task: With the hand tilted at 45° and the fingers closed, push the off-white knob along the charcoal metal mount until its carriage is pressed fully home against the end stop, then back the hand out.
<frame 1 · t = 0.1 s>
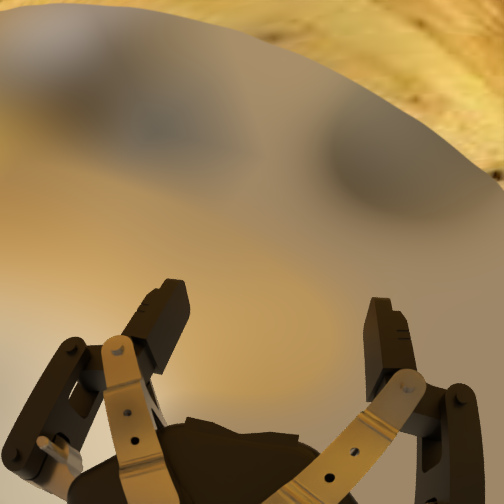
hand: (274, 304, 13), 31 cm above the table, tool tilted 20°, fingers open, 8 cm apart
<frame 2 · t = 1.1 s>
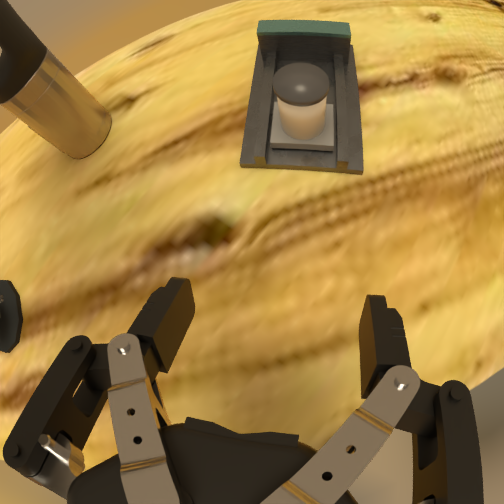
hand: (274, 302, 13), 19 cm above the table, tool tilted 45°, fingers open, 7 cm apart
knob mount: (304, 97, 36), on the table
knob carriage: (302, 106, 30), point 5 cm above the table, slide at 0.0 cm
gun turret: (12, 312, 38), on the table
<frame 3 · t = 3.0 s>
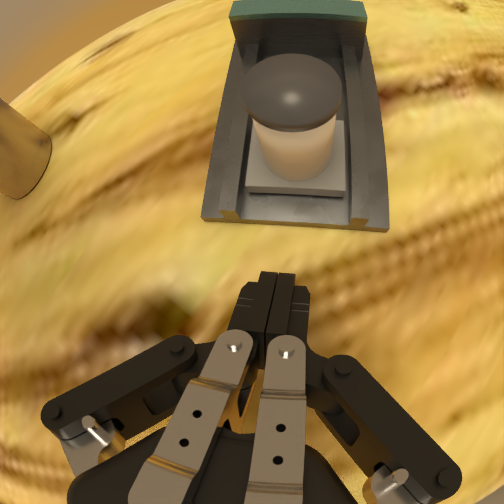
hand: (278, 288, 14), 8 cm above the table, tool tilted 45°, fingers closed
knob mount: (300, 108, 25), on the table
knob carriage: (295, 127, 18), point 5 cm above the table, slide at 0.0 cm
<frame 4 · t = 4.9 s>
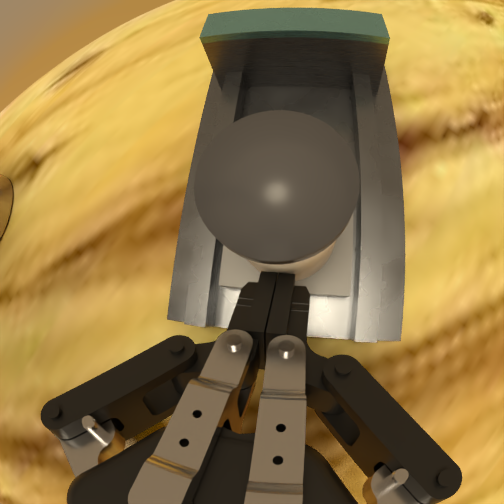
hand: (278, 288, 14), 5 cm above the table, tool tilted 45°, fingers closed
knob mount: (296, 163, 20), on the table
knob carriage: (284, 217, 14), point 5 cm above the table, slide at 0.3 cm, touching gripper
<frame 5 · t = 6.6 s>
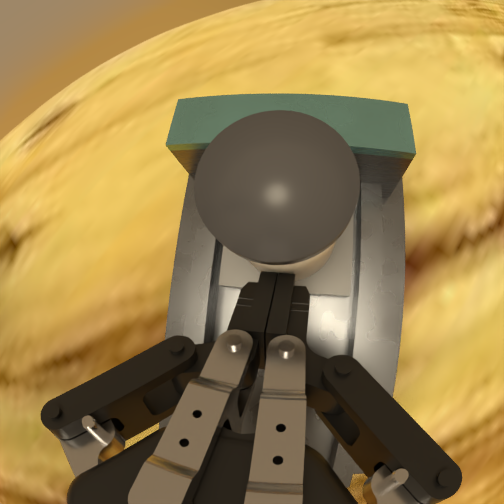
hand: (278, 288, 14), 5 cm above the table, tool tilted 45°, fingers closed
knob mount: (286, 295, 18), on the table
knob carriage: (284, 217, 14), point 6 cm above the table, slide at 9.1 cm, touching gripper
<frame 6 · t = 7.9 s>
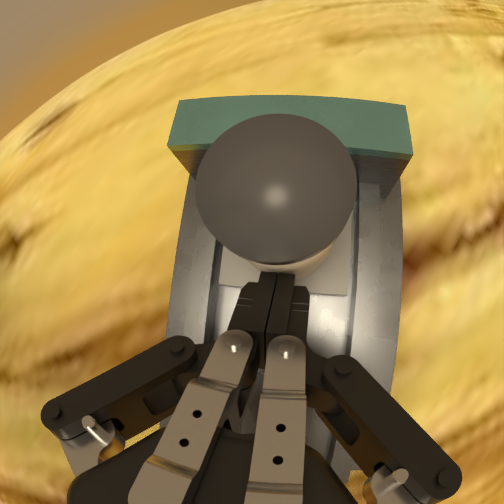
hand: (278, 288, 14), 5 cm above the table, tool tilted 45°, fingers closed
knob mount: (285, 293, 19), on the table
knob carriage: (283, 218, 14), point 6 cm above the table, slide at 9.0 cm
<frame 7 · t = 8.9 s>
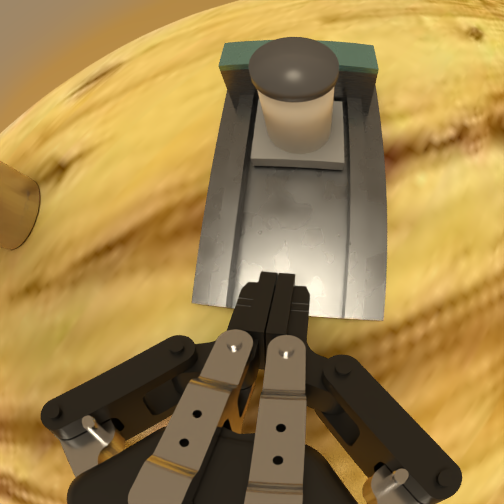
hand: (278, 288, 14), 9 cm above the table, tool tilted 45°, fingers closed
knob mount: (298, 174, 24), on the table
knob carriage: (297, 103, 20), point 6 cm above the table, slide at 9.0 cm
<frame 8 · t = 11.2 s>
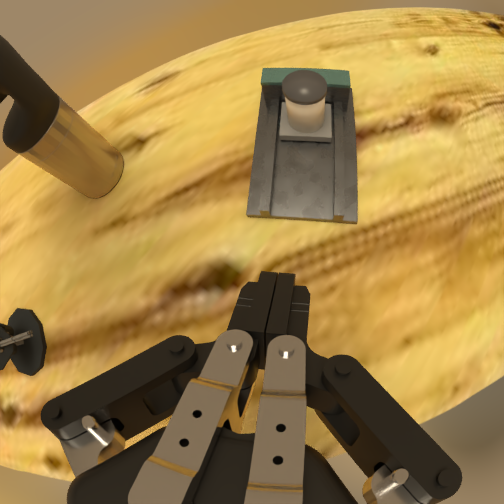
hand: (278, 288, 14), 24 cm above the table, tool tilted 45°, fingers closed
knob mount: (305, 145, 41), on the table
knob carriage: (305, 105, 36), point 5 cm above the table, slide at 9.0 cm
gun turret: (35, 338, 43), on the table
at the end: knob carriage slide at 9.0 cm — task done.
